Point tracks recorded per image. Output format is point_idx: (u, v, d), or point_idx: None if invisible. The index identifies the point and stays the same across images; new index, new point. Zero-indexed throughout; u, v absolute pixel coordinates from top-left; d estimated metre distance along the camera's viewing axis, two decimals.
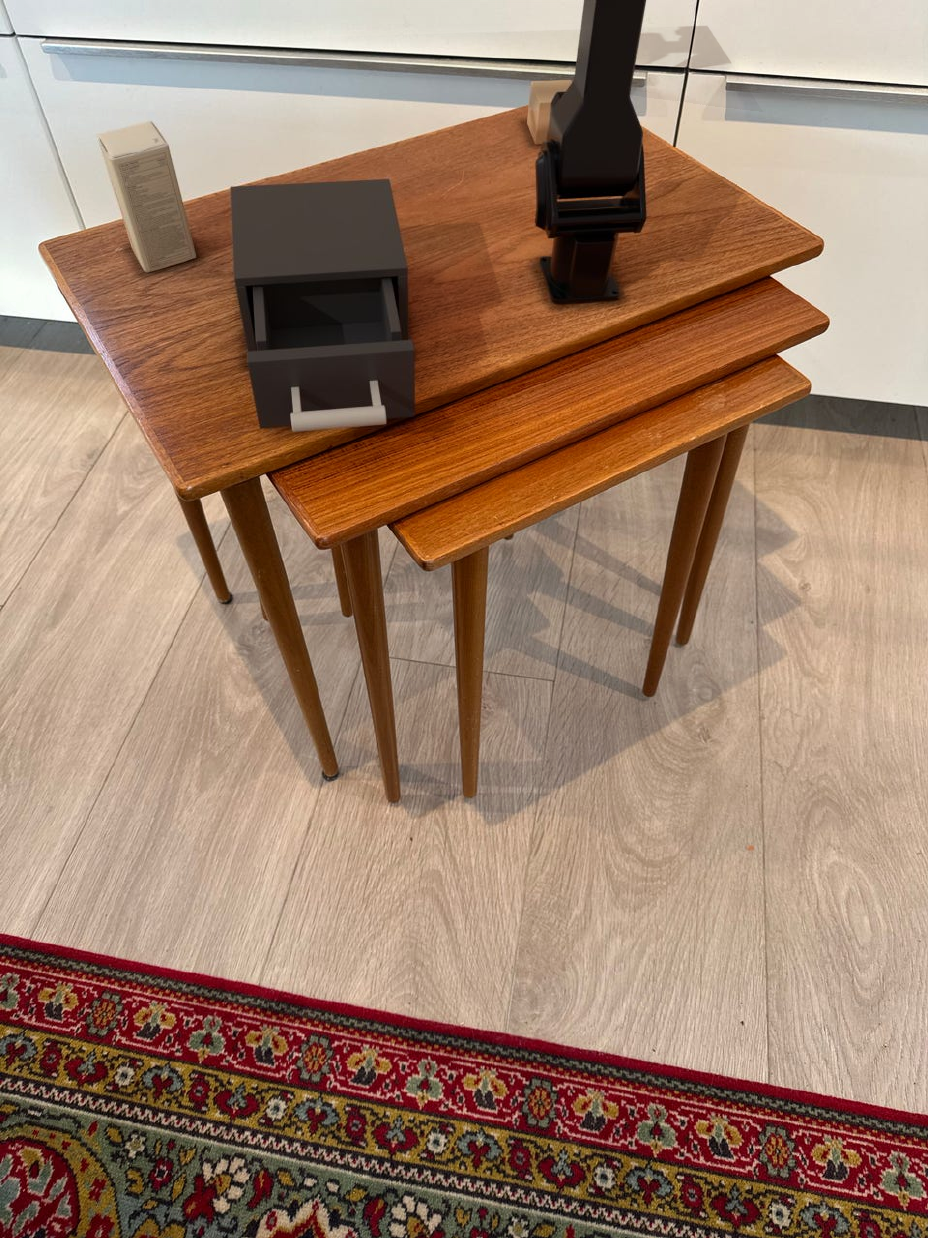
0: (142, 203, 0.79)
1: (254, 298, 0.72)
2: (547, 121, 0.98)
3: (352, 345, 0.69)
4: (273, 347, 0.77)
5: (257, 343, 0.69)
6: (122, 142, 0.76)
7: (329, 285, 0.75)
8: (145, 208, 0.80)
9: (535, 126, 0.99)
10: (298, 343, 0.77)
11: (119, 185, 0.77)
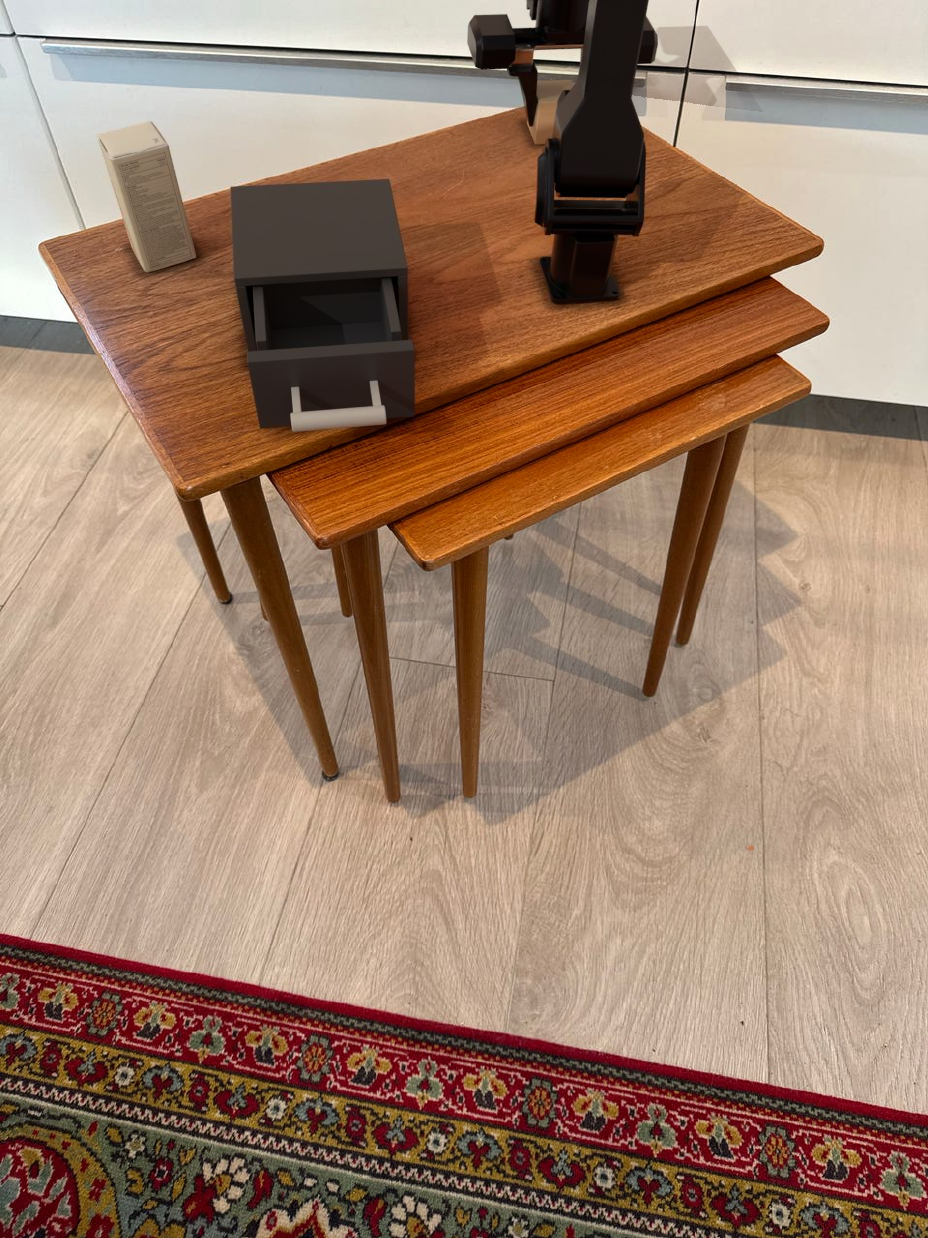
0: (142, 203, 0.79)
1: (254, 298, 0.72)
2: (547, 121, 0.98)
3: (352, 345, 0.69)
4: (273, 347, 0.77)
5: (257, 343, 0.69)
6: (122, 142, 0.76)
7: (329, 285, 0.75)
8: (145, 208, 0.80)
9: (535, 126, 0.99)
10: (298, 343, 0.77)
11: (119, 185, 0.77)
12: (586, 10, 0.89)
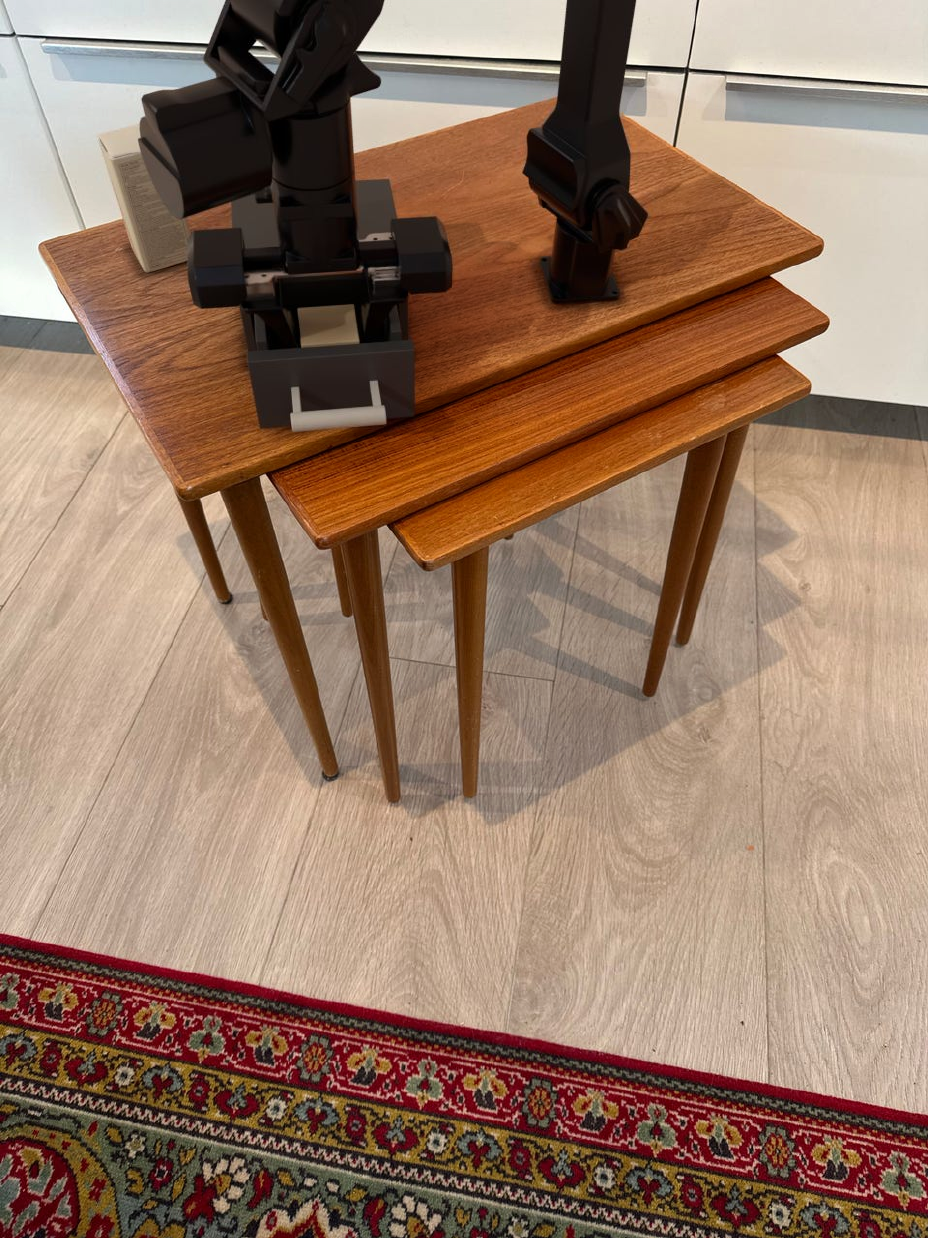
0: (142, 203, 0.79)
1: None
2: None
3: (352, 345, 0.69)
4: (273, 347, 0.77)
5: (257, 343, 0.69)
6: (122, 143, 0.76)
7: (329, 285, 0.75)
8: (145, 208, 0.80)
9: None
10: None
11: (119, 185, 0.77)
12: (339, 233, 0.63)
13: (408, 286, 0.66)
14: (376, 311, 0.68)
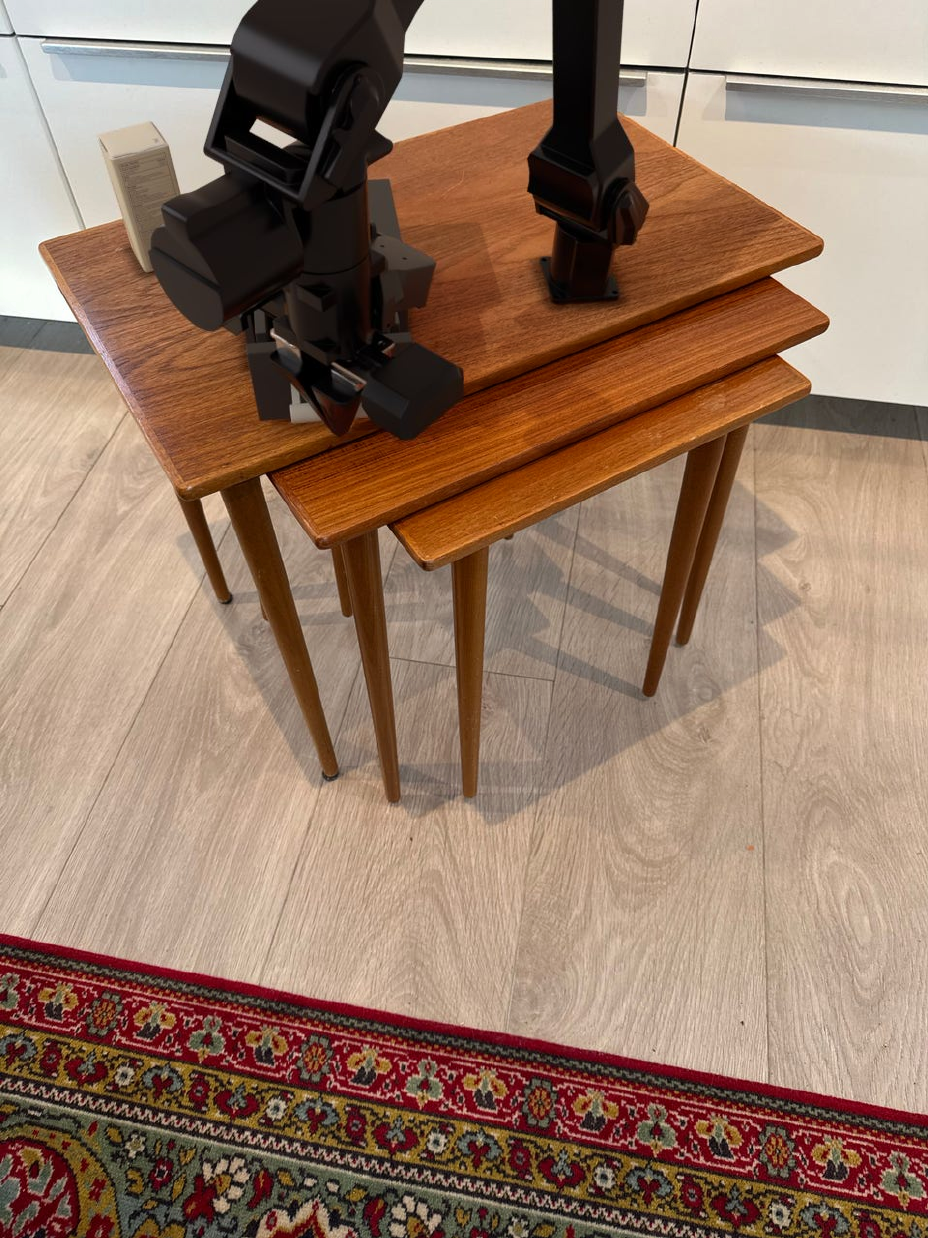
0: (142, 203, 0.79)
1: None
2: None
3: None
4: (272, 340, 0.77)
5: (257, 335, 0.69)
6: (122, 143, 0.76)
7: None
8: (145, 209, 0.80)
9: None
10: None
11: (119, 185, 0.77)
12: (316, 322, 0.57)
13: (368, 411, 0.59)
14: (321, 400, 0.62)
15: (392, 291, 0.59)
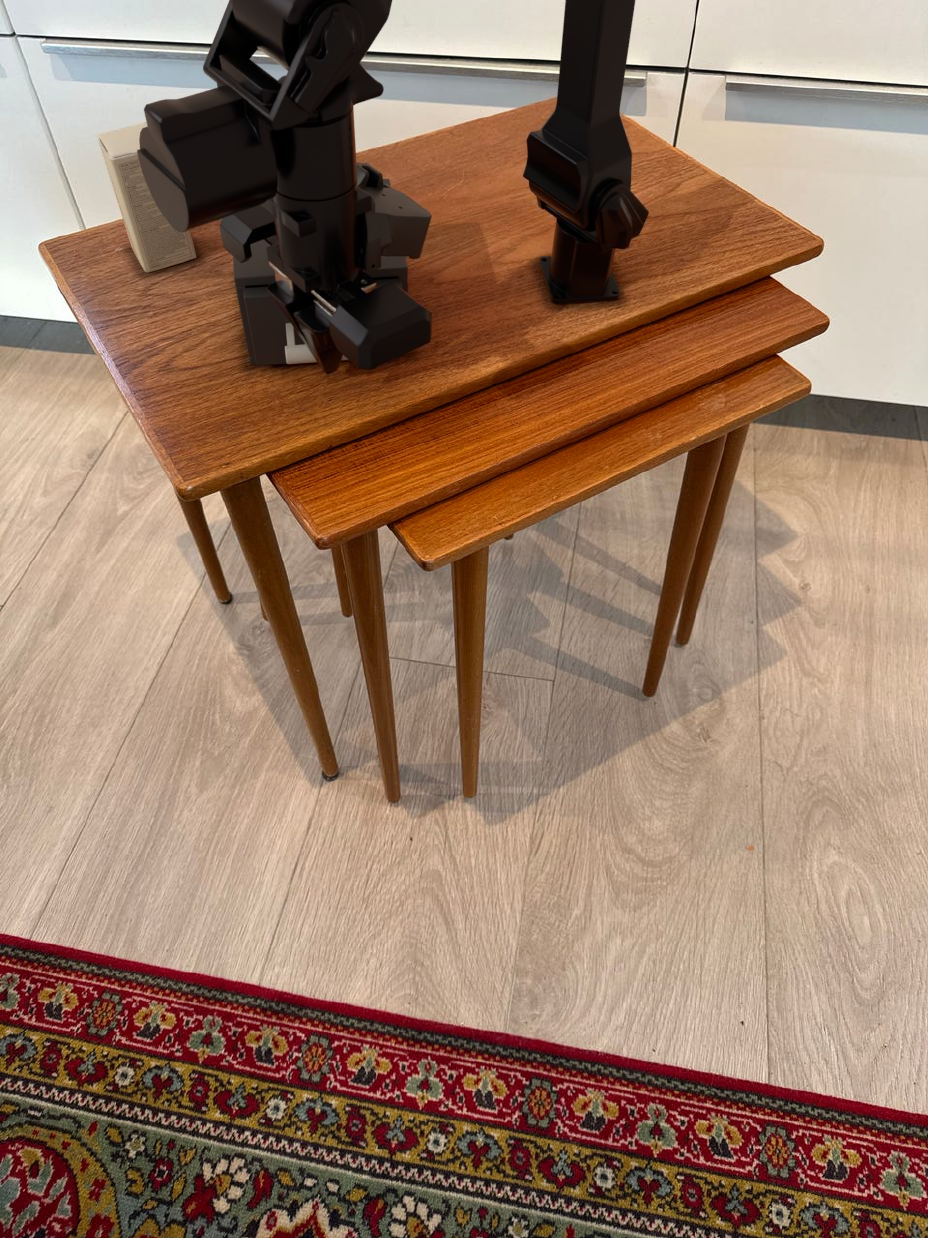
0: (142, 203, 0.79)
1: None
2: None
3: None
4: None
5: None
6: (122, 143, 0.76)
7: None
8: (145, 208, 0.80)
9: None
10: None
11: (119, 185, 0.77)
12: (298, 248, 0.61)
13: (334, 339, 0.62)
14: (302, 328, 0.66)
15: (377, 232, 0.63)
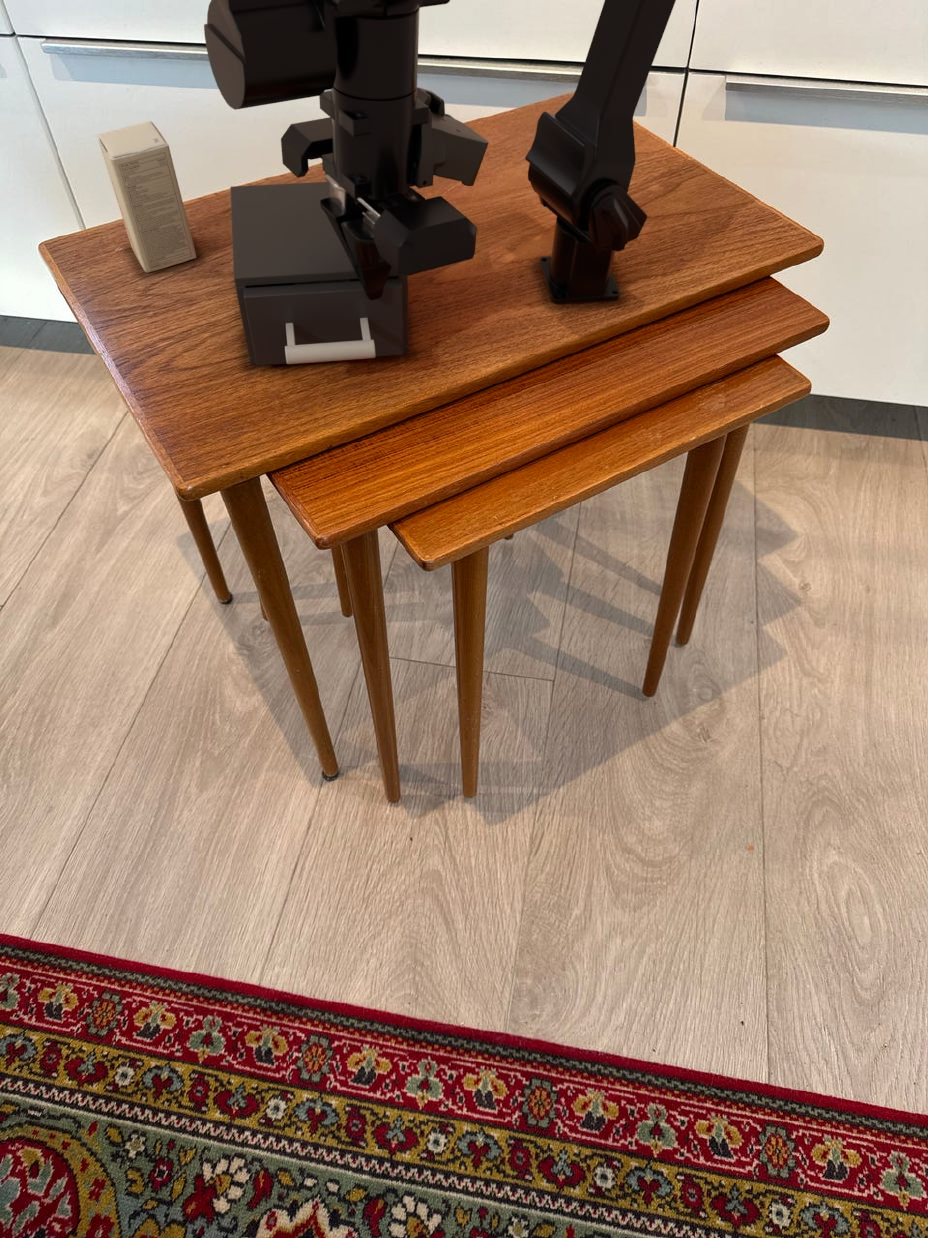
0: (142, 203, 0.79)
1: None
2: None
3: (343, 282, 0.73)
4: None
5: None
6: (122, 143, 0.76)
7: None
8: (145, 209, 0.80)
9: None
10: None
11: (119, 185, 0.77)
12: (351, 151, 0.62)
13: (377, 244, 0.62)
14: (348, 240, 0.67)
15: (432, 147, 0.63)
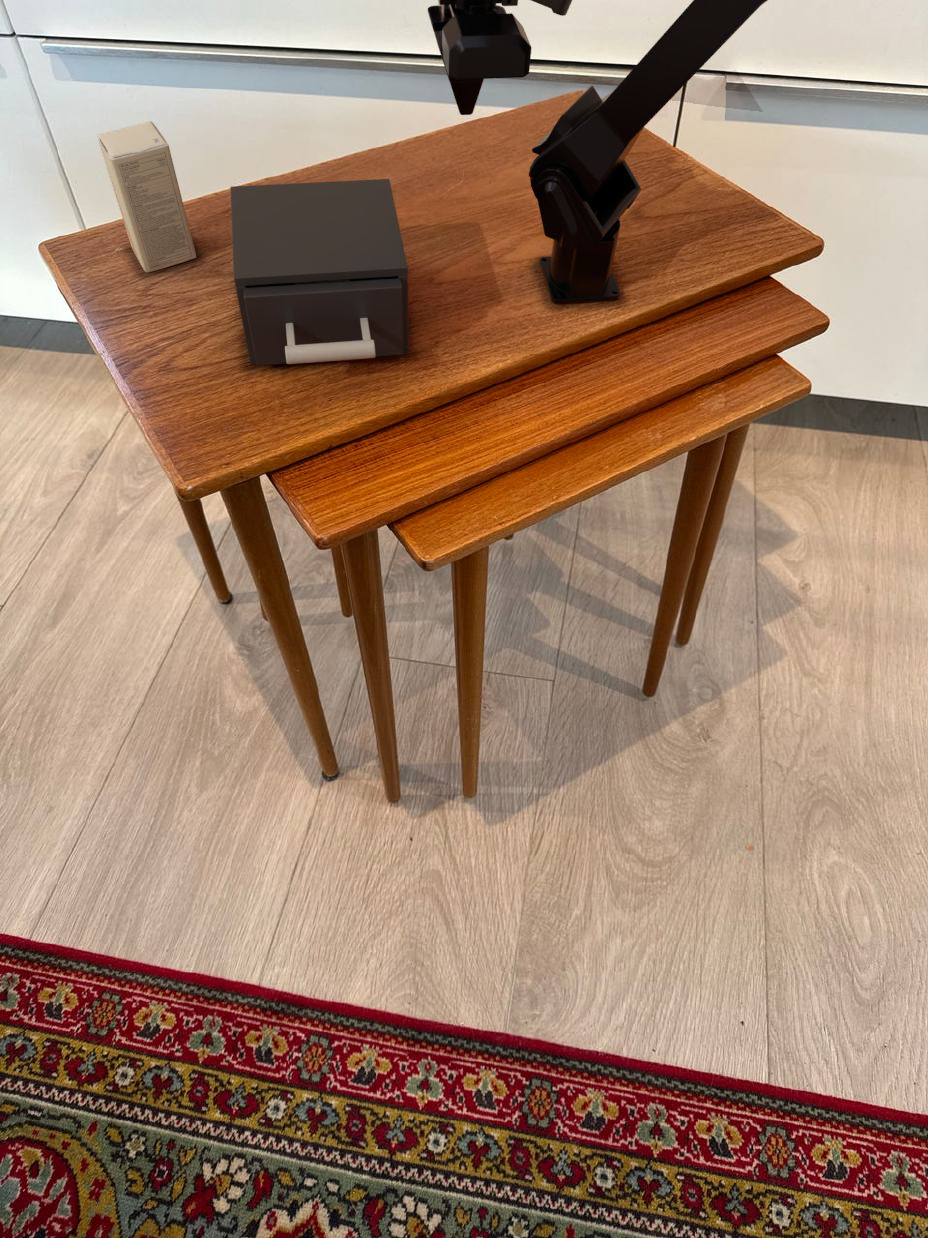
0: (142, 203, 0.79)
1: None
2: None
3: (343, 282, 0.73)
4: None
5: None
6: (122, 143, 0.76)
7: None
8: (145, 209, 0.80)
9: None
10: None
11: (119, 185, 0.77)
12: None
13: (443, 48, 0.69)
14: None
15: None
